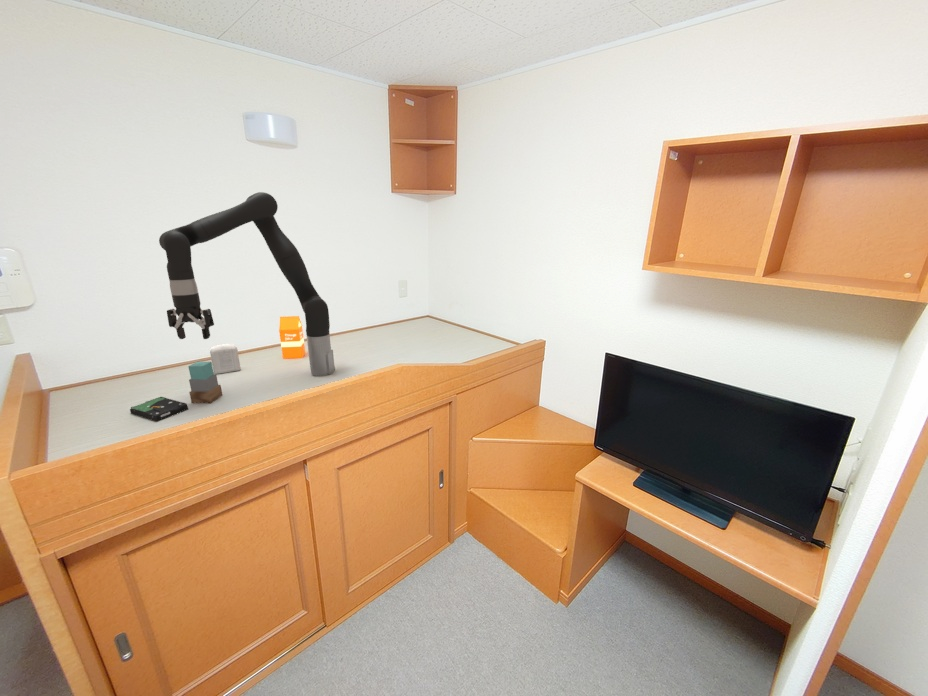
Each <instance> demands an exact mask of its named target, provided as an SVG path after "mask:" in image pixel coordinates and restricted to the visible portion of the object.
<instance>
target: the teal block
mask: <svg viewBox="0 0 928 696" xmlns="http://www.w3.org/2000/svg"><path fill="white" fill-rule="evenodd" d="M188 371H189V376H190V379H204V380H205V379H207V378H209V377H210V376H212V375H214V371H213V366H212V361H196V362H194V363H191V364H190V365H188Z"/></svg>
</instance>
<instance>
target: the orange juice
mask: <svg viewBox="0 0 928 696" xmlns="http://www.w3.org/2000/svg"><path fill="white" fill-rule="evenodd" d="M278 326H279V327H278V332H279V339H280V347H281V353H282V359H283V360H291V359H295V360H296V359H303V357H304V356H305V355H306V345H305V338H304V330H303V325H302V321H301V318H300V316H299V315H298V316H297V315H296V316H295V315H294V316H279V325H278Z"/></svg>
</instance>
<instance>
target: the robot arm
mask: <svg viewBox="0 0 928 696" xmlns="http://www.w3.org/2000/svg"><path fill="white" fill-rule="evenodd" d="M278 208H279V207H278V202H277V200H276V198H275V197H274V196H272V195H271V194H270V193H267V192H263V191H261V192H260V191H259V192H256V193H253V194H251V195H250V196H248V197H247V198H246V200H245V201H243V202H242V203H240V204H238V205H235V206H233V207H231V208H228V209H225V210H221V211H219V212H216V213H213V214H211V215H208V216H205V217H202V218H199V219H197V220H195V221H192V222H190V223H188V224H186V225H182V226H179V227H176V228H173V229H170V230H167V231H164V232H163V233H162V234H161V235H160V236H159V240H158V242H159V246H160V247H161V248H162V249H163V250H164V251H165V254H166V258H167V259H166V260H167V263H166V271H167V276H168V280H169V290H170V294H171V298H172V302H173V307H174V308H170V309H167V310H166V315H167V321H168V326H169V327H170V328H174V329H175V330H176V334H177V337H178V338H179V340H184V339H185V338H186V333H185V328H184V325H185V323H195V324H196V325H198V326H199V327H200V328H201V334H202V338H203V340H208V339H209V338H210V337H211V332H210V327H213V326H215V322H214V318H213V315H212V312H211V309H210V308H206V309H202V308H201V299H200V295H199V289H198V285H197V282H196V278H195V275H194V274H195V273H194V270H193V265H192V249H191V248H192V247H193V246H195V245H198V244H203V243H206V242H209V241H211V240H213V239H216V238H218V237H221V236H223V235H224V234H227V233H228V232H229V233H230V232H231V231H232V230H234V229H237V228H239V227H241V226H244V225H245V224H249V223H250V222H253V224H254V226H255V227H256V228H257V229H258V231H259V232H260V234H261V235H262V237H263V239H264V241H265V244H266V245H267V248H268V249H269V251H270V252H271V254H272V256H273V258H274V261H275V262H276V264H277V266H278V268H279V269H280V271H281V273H282V274H283V276H284V278H285V279H286V281H288V283H289V284H290V286H291V287H292V288H293V290H294V292H295V294H296V296H297V298H298V301H299V304H300V305H301V308H302V311H303V312H304V318H305V336H306V340H307V350H308V360H309V367H310V368H309V369H310V374H311V376H316V377H320V376H321V377H323V376H330V375H332V374H333V373H334V372H335V370H336V368H335V359H334V356H335V355H334V350H333V349H332V346H331V345H332V344H331V336H330V334H331V333H330V329H331V328H330V326H331V323H330V315H329V314H330V313H329V306H328V304H327V302H326V301H325V300H324V299H322V297H321V296H320V294H319V293H318V292H317V290H316V287H314V285H313V284H312V281H311V278H310V276H309V272H308V269H307V267H306V265H305V263H304V260H303V258H302V256H301V254H300V252H299V250H298V249H297V247H296V246H295V244H294V243H293V242H292V241H291V240H290V239H289V237H287V235H286V234H285V233H284V232H283V230H282V229H281V228H280V226H279V224H278V222H277V220H276V218H275V215H276V214H277V211H278ZM177 316H178V317H177Z"/></svg>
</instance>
